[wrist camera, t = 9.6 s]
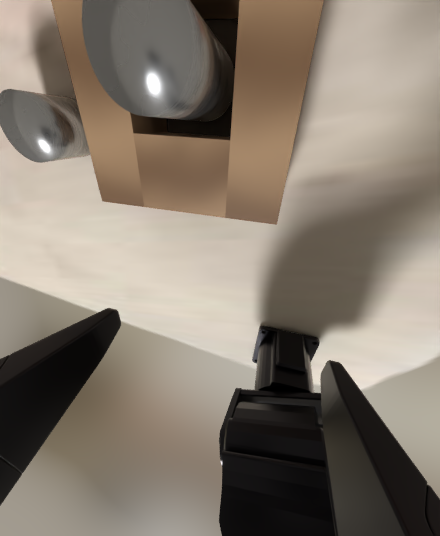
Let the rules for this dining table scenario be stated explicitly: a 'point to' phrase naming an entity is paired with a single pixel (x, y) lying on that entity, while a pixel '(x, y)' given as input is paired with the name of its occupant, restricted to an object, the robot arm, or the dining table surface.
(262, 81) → the hole block
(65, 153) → the short pin
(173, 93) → the tall pin
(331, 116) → the dining table surface
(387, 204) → the dining table surface
